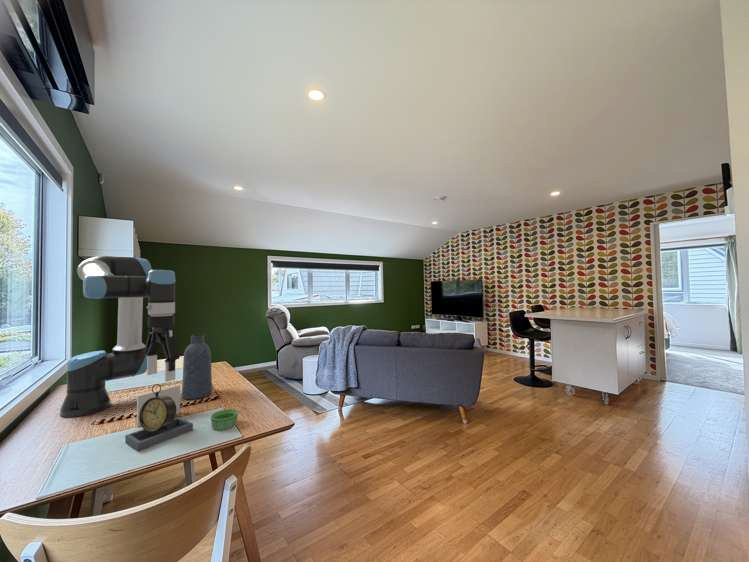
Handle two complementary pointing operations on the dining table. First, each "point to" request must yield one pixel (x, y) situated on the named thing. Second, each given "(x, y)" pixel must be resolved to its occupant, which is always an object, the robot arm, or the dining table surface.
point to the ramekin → (224, 419)
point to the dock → (158, 435)
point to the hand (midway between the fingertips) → (160, 377)
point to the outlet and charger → (171, 392)
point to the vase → (197, 369)
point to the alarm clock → (157, 413)
